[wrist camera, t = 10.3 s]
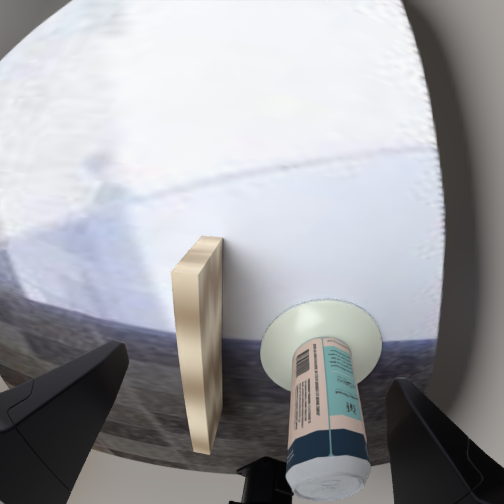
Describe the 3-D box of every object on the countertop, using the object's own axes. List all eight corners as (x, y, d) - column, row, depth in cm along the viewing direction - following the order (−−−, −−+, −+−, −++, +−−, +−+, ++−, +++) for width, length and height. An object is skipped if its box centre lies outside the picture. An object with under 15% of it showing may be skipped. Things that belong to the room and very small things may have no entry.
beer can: (293, 377, 24) (285, 504, 13) (291, 334, 23) (282, 474, 11) (348, 374, 23) (364, 499, 12) (353, 330, 22) (381, 466, 11)
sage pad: (322, 404, 26) (322, 409, 25) (237, 355, 25) (236, 360, 24) (402, 340, 22) (404, 344, 22) (317, 273, 21) (318, 277, 21)
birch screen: (222, 408, 28) (210, 454, 22) (208, 405, 28) (193, 451, 22) (222, 237, 21) (198, 274, 15) (201, 236, 21) (170, 271, 16)
